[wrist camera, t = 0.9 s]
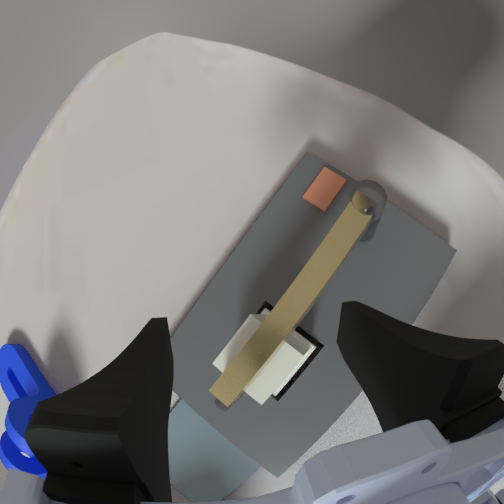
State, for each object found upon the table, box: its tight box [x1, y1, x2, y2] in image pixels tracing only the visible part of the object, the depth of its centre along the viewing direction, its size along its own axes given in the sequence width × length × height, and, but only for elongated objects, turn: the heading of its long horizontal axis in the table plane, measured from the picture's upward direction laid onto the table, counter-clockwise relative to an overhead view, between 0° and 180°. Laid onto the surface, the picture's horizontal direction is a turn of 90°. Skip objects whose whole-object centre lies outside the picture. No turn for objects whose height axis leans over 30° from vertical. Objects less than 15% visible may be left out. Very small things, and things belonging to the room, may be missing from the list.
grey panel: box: [170, 152, 457, 478], centre depth 23 cm, size 14×22×2 cm, turn 142°
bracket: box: [0, 344, 56, 480], centre depth 26 cm, size 18×8×9 cm, turn 55°
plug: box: [212, 308, 317, 412], centre depth 21 cm, size 5×7×6 cm
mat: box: [168, 399, 261, 502], centre depth 24 cm, size 9×9×1 cm
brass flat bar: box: [209, 180, 387, 407], centre depth 19 cm, size 2×14×6 cm, turn 142°
